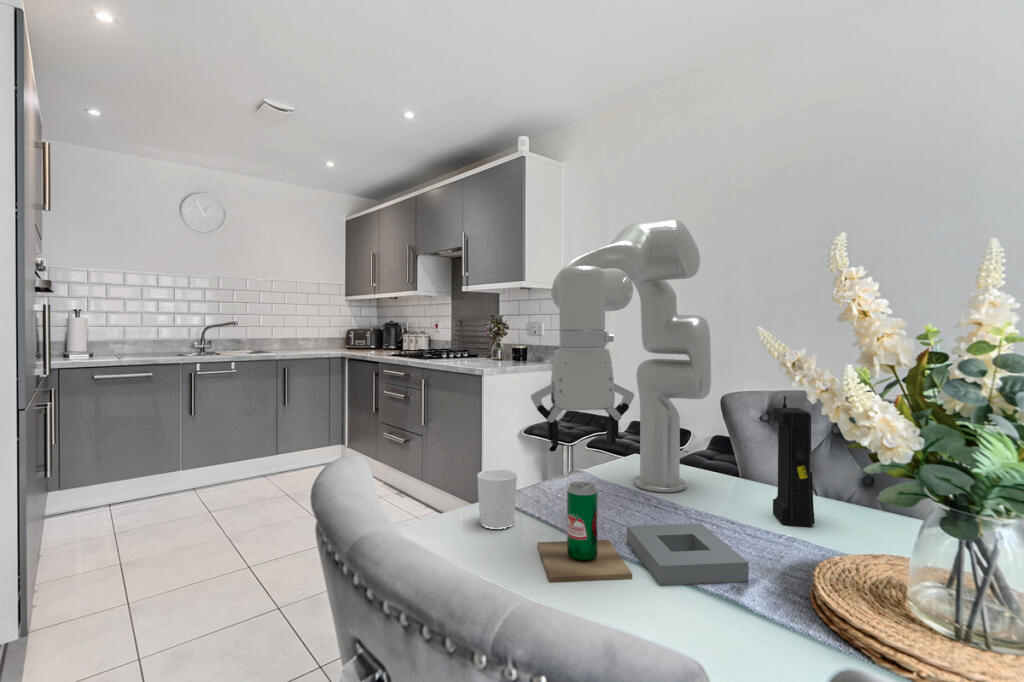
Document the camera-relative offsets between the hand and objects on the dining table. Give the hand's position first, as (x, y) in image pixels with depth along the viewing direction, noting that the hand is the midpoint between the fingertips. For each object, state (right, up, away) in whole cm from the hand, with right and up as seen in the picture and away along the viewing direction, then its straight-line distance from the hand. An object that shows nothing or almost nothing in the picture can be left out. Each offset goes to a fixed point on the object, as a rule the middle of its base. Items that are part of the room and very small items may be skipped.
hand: (582, 443), depth 85 cm
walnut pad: (0, -20, 0) cm, 20 cm away
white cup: (-15, -20, +17) cm, 30 cm away
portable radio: (+45, -20, +18) cm, 53 cm away
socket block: (+17, -20, 0) cm, 26 cm away
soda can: (0, -19, 0) cm, 19 cm away
